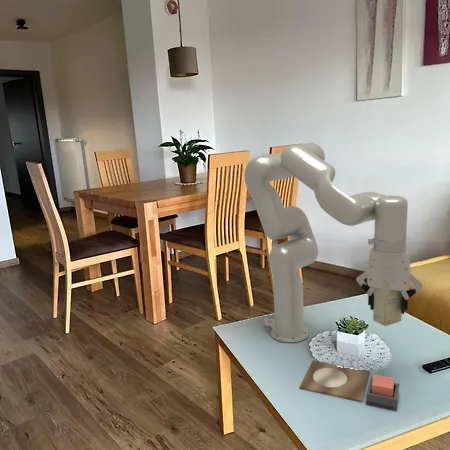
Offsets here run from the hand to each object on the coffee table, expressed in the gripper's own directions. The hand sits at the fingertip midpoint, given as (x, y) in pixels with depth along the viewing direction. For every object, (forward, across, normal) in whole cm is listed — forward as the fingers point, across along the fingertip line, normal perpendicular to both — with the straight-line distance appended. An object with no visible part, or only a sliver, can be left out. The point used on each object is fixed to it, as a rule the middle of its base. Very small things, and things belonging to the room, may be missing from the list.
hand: (387, 309), depth 112 cm
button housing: (+19, 0, -11) cm, 22 cm away
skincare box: (+3, 0, 0) cm, 3 cm away
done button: (+17, 0, -11) cm, 20 cm away
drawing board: (+20, -12, -7) cm, 24 cm away
